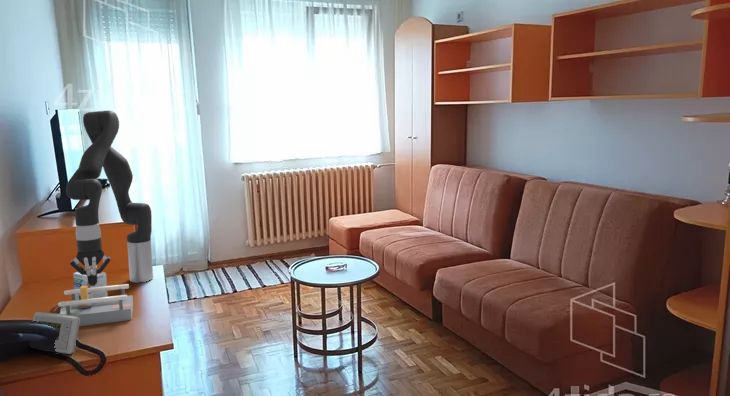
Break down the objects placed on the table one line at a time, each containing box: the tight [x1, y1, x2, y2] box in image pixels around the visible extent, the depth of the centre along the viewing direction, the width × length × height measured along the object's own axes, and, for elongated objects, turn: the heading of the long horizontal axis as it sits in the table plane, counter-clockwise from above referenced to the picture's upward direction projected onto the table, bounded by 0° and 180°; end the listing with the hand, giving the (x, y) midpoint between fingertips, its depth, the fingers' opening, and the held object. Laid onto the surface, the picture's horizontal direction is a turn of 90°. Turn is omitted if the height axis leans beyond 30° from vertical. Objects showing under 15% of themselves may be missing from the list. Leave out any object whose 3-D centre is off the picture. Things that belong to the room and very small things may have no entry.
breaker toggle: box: [78, 286, 93, 309], centre depth 179 cm, size 4×4×7 cm
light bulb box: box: [72, 268, 109, 300], centre depth 197 cm, size 11×7×11 cm, turn 62°
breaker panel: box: [57, 283, 134, 327], centre depth 181 cm, size 14×22×9 cm, turn 111°
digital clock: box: [32, 311, 80, 355], centre depth 157 cm, size 16×9×11 cm, turn 65°
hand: (92, 285), depth 180 cm, fingers closed
